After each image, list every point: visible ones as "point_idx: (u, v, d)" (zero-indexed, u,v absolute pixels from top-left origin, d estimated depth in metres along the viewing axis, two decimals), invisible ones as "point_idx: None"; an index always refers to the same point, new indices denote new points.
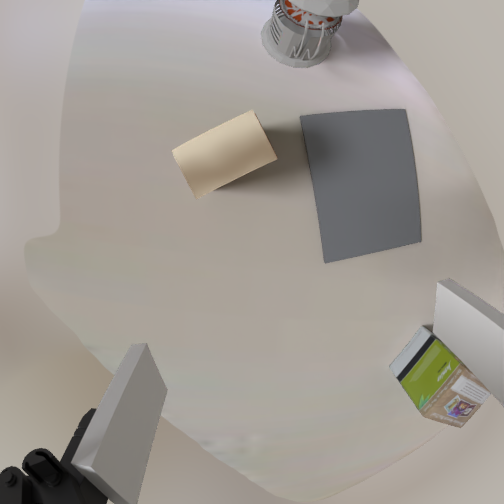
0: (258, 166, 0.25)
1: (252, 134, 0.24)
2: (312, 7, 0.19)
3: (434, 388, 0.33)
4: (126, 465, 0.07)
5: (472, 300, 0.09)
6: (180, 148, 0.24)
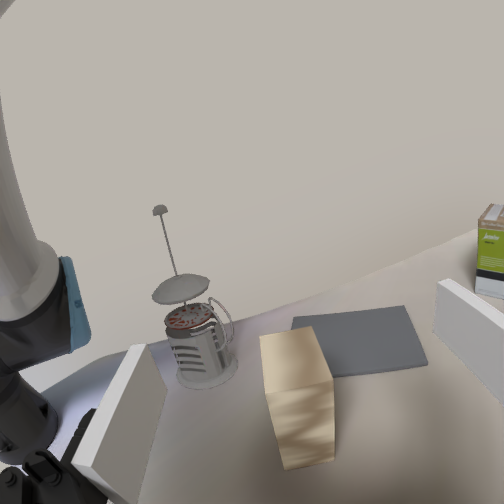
0: (314, 336, 0.25)
1: (281, 337, 0.26)
2: (194, 290, 0.36)
3: None
4: (126, 465, 0.07)
5: (472, 300, 0.09)
6: (267, 386, 0.20)
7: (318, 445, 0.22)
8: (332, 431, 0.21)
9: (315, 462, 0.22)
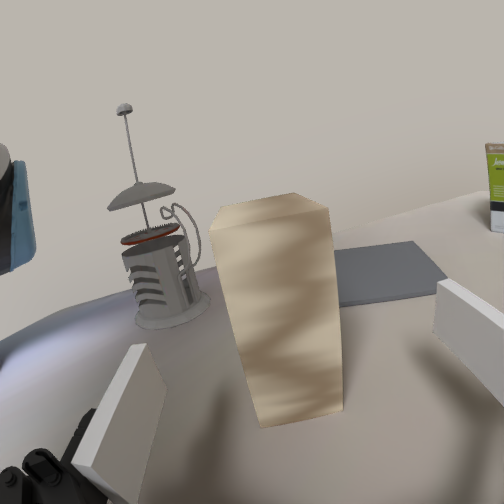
0: (297, 195, 0.18)
1: (251, 202, 0.19)
2: (154, 190, 0.28)
3: None
4: (126, 465, 0.07)
5: (472, 300, 0.09)
6: (215, 226, 0.13)
7: (315, 374, 0.14)
8: (337, 341, 0.14)
9: (311, 413, 0.15)
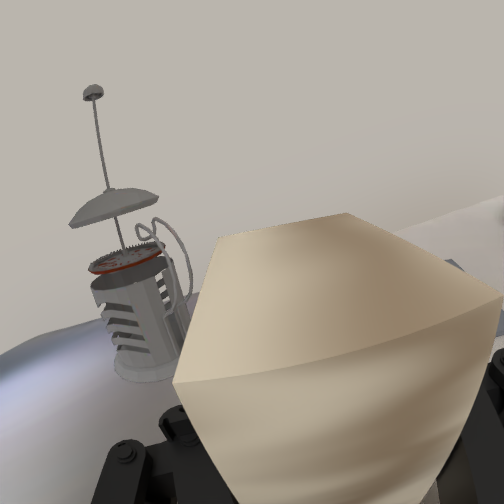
0: (361, 221, 0.09)
1: (274, 232, 0.10)
2: (127, 201, 0.20)
3: None
4: None
5: None
6: (198, 346, 0.04)
7: None
8: (424, 490, 0.05)
9: None
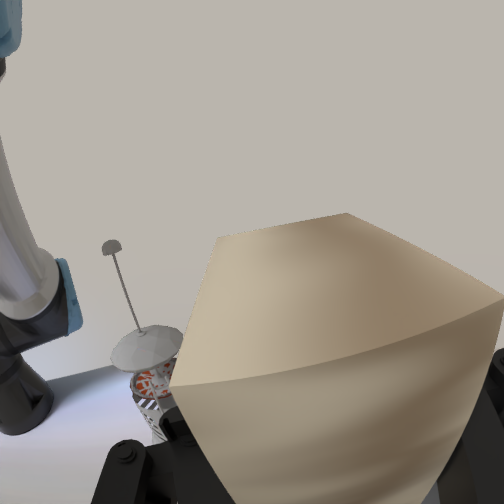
0: (361, 222, 0.09)
1: (273, 232, 0.10)
2: (142, 363, 0.24)
3: None
4: None
5: None
6: (195, 349, 0.04)
7: None
8: (424, 492, 0.05)
9: None
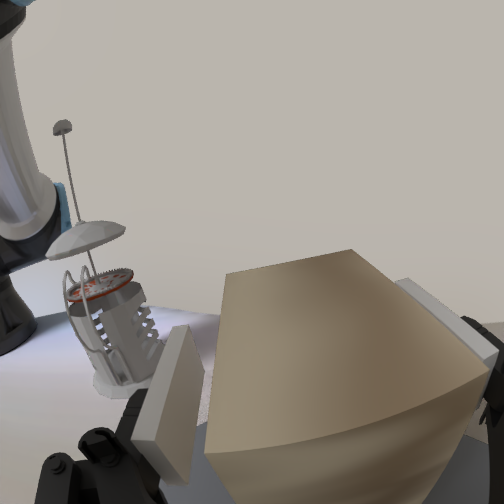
0: (366, 264, 0.09)
1: (281, 272, 0.10)
2: (63, 247, 0.19)
3: None
4: (180, 440, 0.08)
5: (426, 300, 0.10)
6: (221, 416, 0.04)
7: None
8: None
9: None
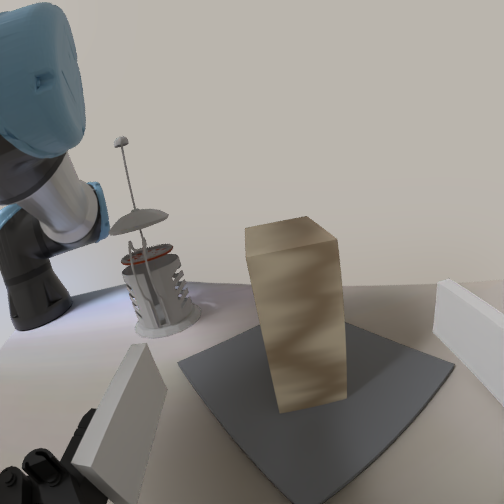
0: (310, 220, 0.21)
1: (271, 225, 0.22)
2: (127, 225, 0.31)
3: None
4: (126, 465, 0.07)
5: (472, 300, 0.09)
6: (249, 252, 0.16)
7: (325, 367, 0.18)
8: (342, 340, 0.17)
9: (321, 400, 0.19)
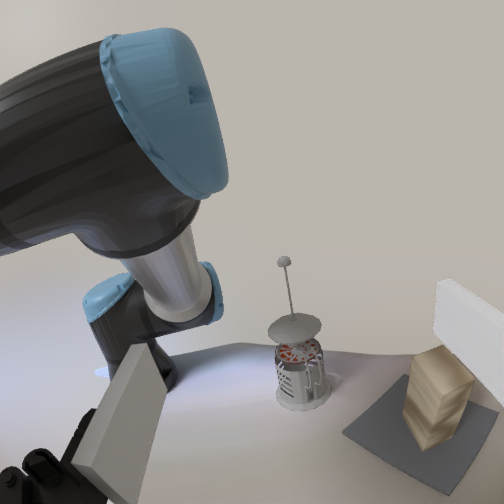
0: (448, 351, 0.29)
1: (428, 355, 0.30)
2: (298, 337, 0.39)
3: None
4: (126, 465, 0.07)
5: (472, 300, 0.09)
6: (441, 390, 0.24)
7: (450, 427, 0.26)
8: (461, 414, 0.25)
9: (441, 441, 0.26)
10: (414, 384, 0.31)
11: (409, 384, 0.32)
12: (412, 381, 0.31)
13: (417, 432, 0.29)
